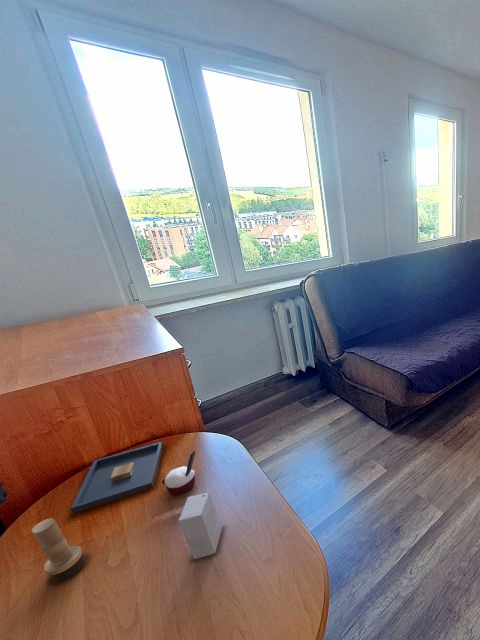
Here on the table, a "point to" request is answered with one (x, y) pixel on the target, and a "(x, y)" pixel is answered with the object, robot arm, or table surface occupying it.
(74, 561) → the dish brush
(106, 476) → the tray
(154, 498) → the table surface
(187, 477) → the cocoa
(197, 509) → the cosmetic box
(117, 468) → the cork chip
